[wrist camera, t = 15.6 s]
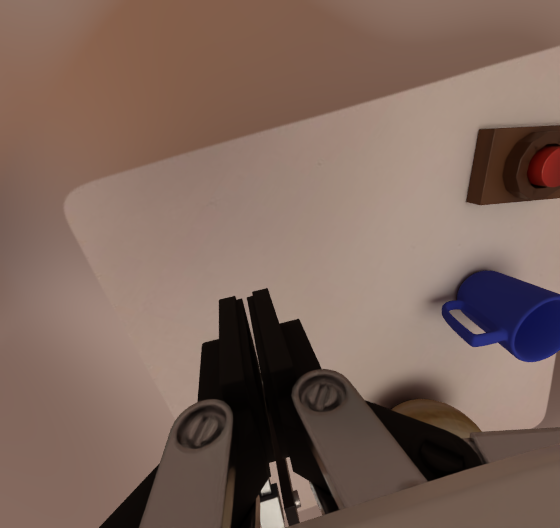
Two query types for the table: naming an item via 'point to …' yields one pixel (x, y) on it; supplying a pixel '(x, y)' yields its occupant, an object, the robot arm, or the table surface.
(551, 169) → the power button
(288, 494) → the switch bracket
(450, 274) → the table surface
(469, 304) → the mug
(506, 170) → the button block
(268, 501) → the switch lever
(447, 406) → the decorative ball
